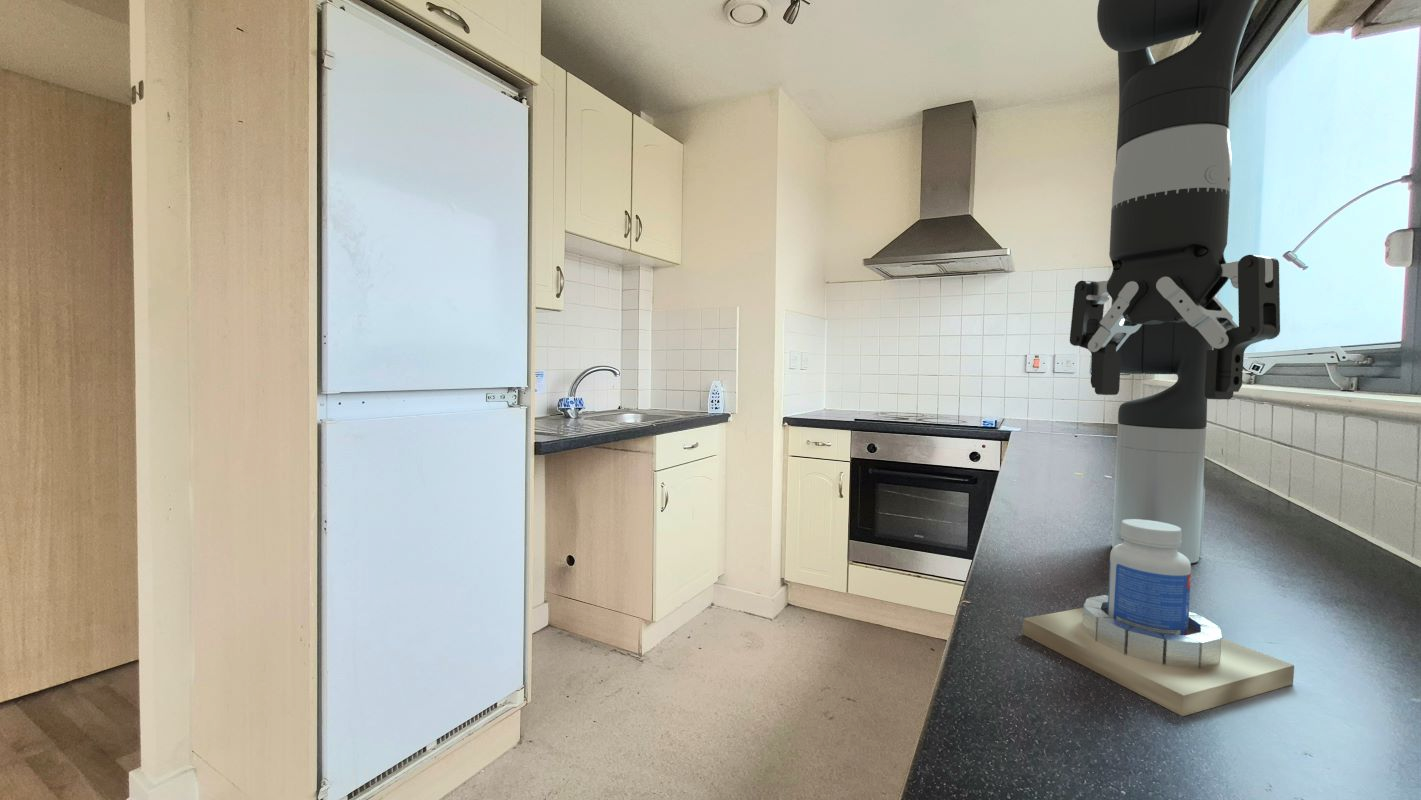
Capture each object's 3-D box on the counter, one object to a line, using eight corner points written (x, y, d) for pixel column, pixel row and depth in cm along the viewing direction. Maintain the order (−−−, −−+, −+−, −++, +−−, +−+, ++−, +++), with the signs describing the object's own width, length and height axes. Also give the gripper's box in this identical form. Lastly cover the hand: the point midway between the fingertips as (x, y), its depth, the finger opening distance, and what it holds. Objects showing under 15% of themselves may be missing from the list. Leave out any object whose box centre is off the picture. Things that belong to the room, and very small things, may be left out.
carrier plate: (1121, 615, 56) (1122, 600, 56) (1292, 684, 44) (1294, 665, 44) (1022, 634, 52) (1023, 618, 52) (1182, 716, 39) (1183, 695, 39)
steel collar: (1129, 611, 53) (1130, 590, 53) (1246, 656, 45) (1248, 632, 45) (1059, 624, 50) (1060, 602, 50) (1171, 675, 42) (1172, 649, 42)
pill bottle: (1203, 658, 45) (1210, 536, 44) (1126, 650, 46) (1132, 531, 45) (1162, 627, 50) (1168, 518, 50) (1095, 621, 51) (1100, 514, 51)
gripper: (1311, 176, 41) (1296, 401, 42) (1112, 223, 54) (1104, 393, 55) (1246, 162, 38) (1232, 402, 39) (1054, 215, 52) (1047, 393, 52)
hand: (1157, 396), depth 47 cm, fingers open, 8 cm apart
